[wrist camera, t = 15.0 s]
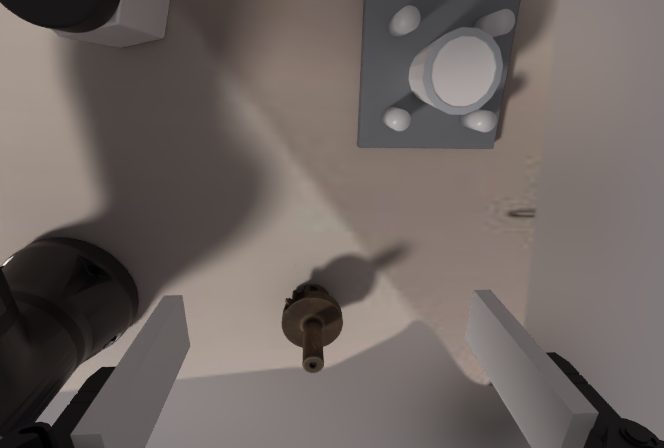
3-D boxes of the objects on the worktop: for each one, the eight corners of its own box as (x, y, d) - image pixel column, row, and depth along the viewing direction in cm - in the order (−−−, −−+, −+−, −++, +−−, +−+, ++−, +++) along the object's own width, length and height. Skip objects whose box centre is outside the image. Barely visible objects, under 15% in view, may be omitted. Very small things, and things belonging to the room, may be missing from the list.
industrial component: (350, 305, 48) (363, 373, 37) (306, 332, 49) (306, 405, 38) (310, 254, 45) (311, 311, 34) (264, 283, 46) (250, 348, 35)
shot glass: (478, 46, 36) (516, 38, 29) (455, 116, 38) (485, 123, 32) (414, 28, 35) (438, 16, 28) (394, 101, 37) (412, 105, 31)
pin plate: (357, 145, 40) (364, 154, 35) (364, -12, 35) (374, -28, 29) (486, 146, 41) (512, 155, 36) (513, -6, 36) (548, -21, 30)
